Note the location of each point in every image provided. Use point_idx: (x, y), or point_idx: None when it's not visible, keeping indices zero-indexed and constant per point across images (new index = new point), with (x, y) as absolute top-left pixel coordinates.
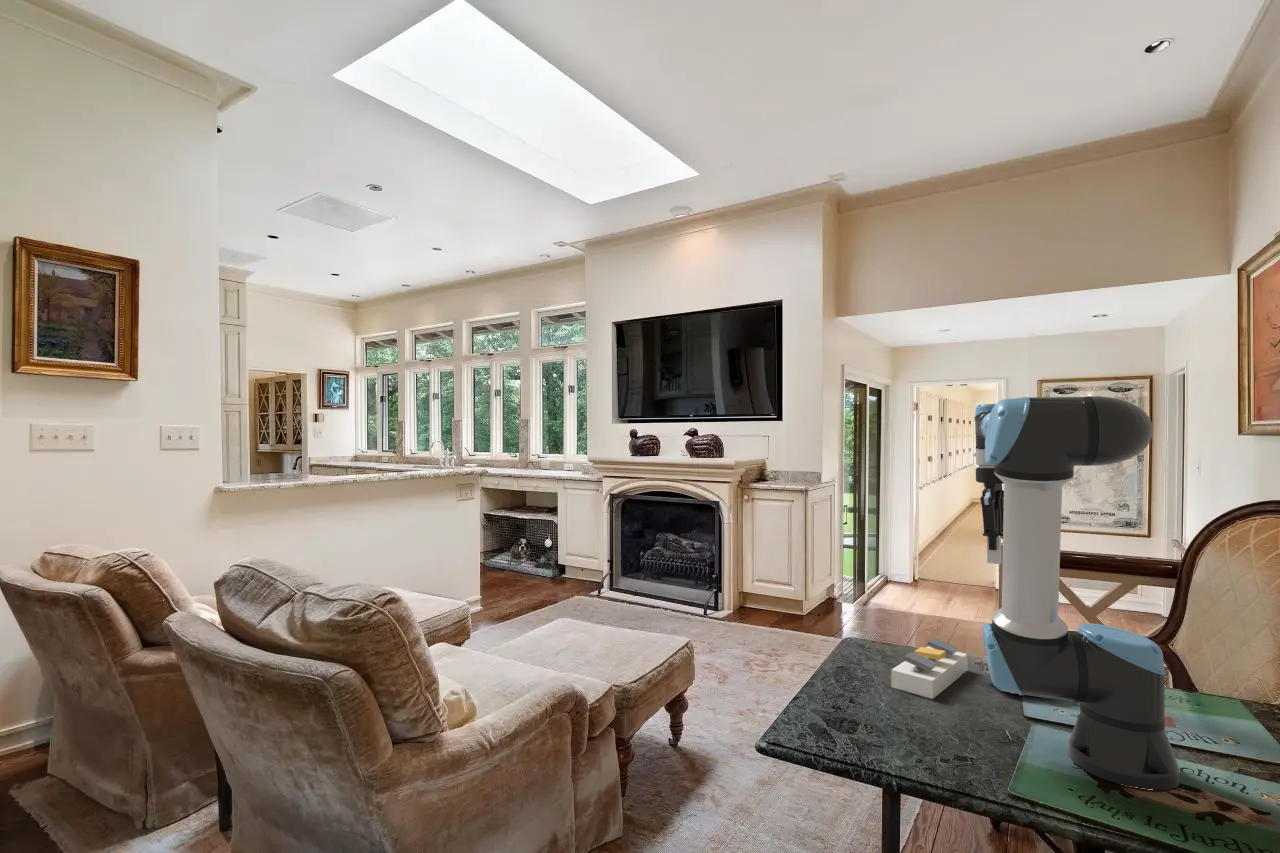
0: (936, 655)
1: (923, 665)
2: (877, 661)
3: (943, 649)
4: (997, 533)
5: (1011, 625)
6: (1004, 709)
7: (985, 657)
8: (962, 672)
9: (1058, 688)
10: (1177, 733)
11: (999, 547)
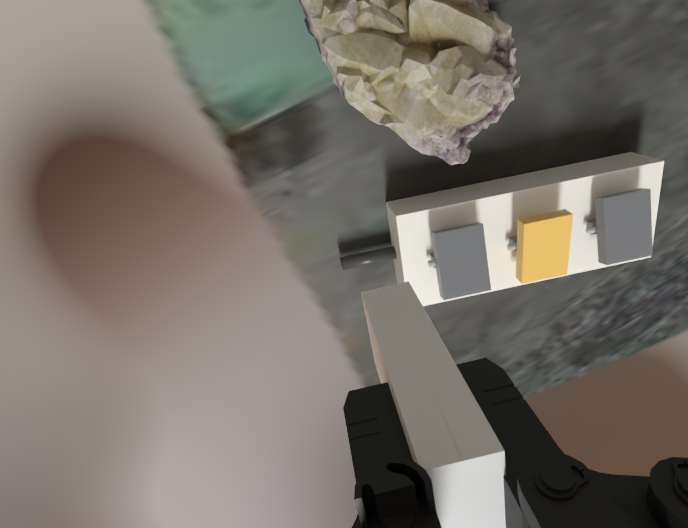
0: (570, 220)
1: (648, 204)
2: (492, 345)
3: (484, 245)
4: (597, 496)
5: None
6: (581, 6)
7: (430, 151)
8: (426, 195)
9: None
10: None
11: (452, 364)
